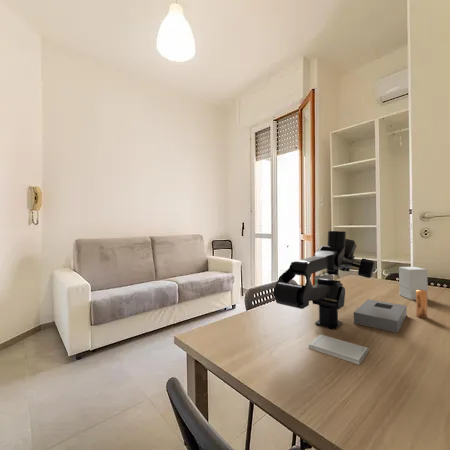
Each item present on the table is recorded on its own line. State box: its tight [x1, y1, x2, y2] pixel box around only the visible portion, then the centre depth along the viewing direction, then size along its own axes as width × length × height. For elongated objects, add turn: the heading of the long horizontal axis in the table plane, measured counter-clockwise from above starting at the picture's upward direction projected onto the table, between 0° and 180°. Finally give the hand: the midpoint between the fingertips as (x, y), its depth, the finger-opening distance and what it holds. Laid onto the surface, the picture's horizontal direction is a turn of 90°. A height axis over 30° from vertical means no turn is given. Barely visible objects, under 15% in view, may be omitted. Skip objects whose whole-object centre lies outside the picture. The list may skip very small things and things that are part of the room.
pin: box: [415, 289, 428, 319], centre depth 88 cm, size 3×3×9 cm
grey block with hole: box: [353, 299, 408, 334], centre depth 87 cm, size 18×12×4 cm, turn 138°
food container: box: [314, 270, 335, 285], centre depth 114 cm, size 12×6×10 cm, turn 143°
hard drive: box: [308, 334, 369, 365], centre depth 67 cm, size 2×8×12 cm
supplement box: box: [398, 266, 429, 301], centre depth 110 cm, size 7×7×13 cm
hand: (352, 263), depth 102 cm, fingers open, 9 cm apart
